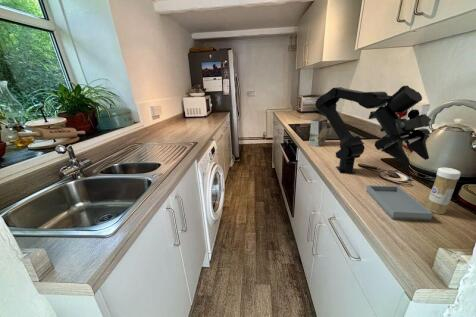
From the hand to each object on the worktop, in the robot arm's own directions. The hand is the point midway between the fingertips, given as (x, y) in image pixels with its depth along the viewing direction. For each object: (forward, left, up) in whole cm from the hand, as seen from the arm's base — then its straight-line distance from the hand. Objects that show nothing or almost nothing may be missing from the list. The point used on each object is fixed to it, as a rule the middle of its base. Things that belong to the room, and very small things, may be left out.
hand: (418, 161), depth 63 cm
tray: (+4, -6, -13) cm, 15 cm away
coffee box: (-65, -15, -13) cm, 68 cm away
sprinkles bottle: (+7, +4, -13) cm, 16 cm away
